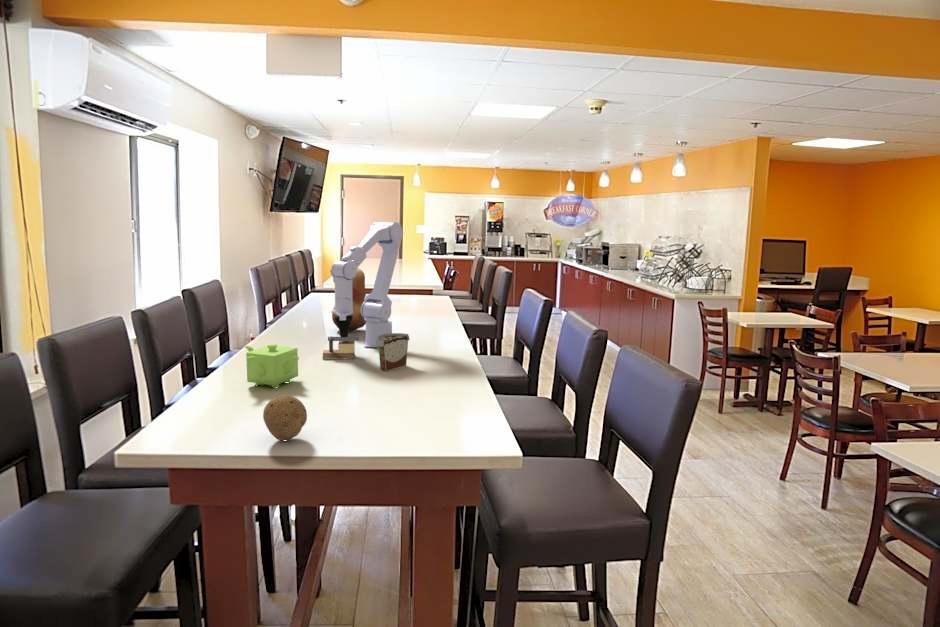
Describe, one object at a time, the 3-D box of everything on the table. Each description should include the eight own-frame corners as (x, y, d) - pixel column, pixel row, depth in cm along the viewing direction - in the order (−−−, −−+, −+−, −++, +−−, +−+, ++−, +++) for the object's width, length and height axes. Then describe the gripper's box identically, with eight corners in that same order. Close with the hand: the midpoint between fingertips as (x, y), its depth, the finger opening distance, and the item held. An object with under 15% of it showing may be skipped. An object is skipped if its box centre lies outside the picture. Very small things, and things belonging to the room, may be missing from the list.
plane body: (355, 355, 212) (355, 339, 211) (354, 358, 207) (354, 342, 206) (323, 355, 210) (323, 339, 209) (322, 359, 205) (321, 343, 204)
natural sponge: (280, 429, 143) (279, 387, 141) (315, 435, 140) (314, 391, 139) (255, 444, 134) (254, 399, 133) (292, 450, 132) (291, 403, 130)
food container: (394, 361, 205) (394, 331, 203) (409, 364, 201) (409, 333, 200) (367, 369, 195) (367, 337, 193) (382, 372, 191) (382, 340, 190)
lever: (359, 340, 209) (359, 335, 209) (359, 341, 208) (359, 336, 207) (328, 340, 208) (327, 335, 208) (327, 341, 206) (327, 337, 206)
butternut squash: (332, 335, 242) (331, 269, 237) (331, 328, 254) (330, 265, 250) (369, 334, 245) (369, 269, 240) (366, 327, 258) (366, 265, 253)
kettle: (248, 393, 168) (246, 352, 166) (241, 380, 181) (239, 341, 179) (305, 387, 175) (304, 347, 173) (295, 374, 187) (293, 337, 185)
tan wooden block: (354, 349, 211) (354, 340, 211) (354, 353, 206) (354, 343, 206) (339, 349, 211) (339, 340, 210) (338, 353, 206) (338, 344, 205)
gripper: (332, 294, 216) (333, 333, 219) (329, 300, 202) (330, 342, 205) (353, 294, 217) (354, 333, 220) (352, 301, 203) (352, 342, 206)
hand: (344, 337), depth 212 cm, fingers closed
